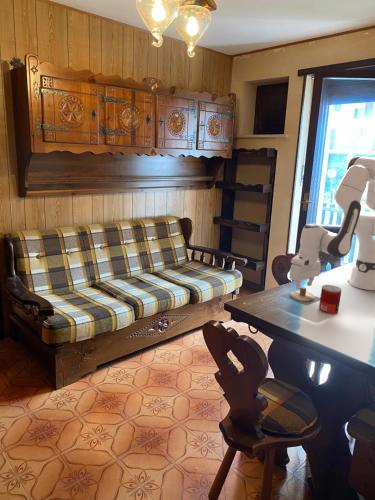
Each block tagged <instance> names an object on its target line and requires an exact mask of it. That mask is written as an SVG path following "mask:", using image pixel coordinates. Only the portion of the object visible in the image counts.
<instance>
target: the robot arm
mask: <svg viewBox="0 0 375 500" xmlns="http://www.w3.org/2000/svg"><path fill="white" fill-rule="evenodd" d="M365 190H366V194H365V204H366V206H367V207H368V209H370V210H372V211H373V212H369V211H368V212H367V211H361V210H362V205H361V200H362V197H363V195H364V193H365ZM334 199H335V202H336V205H338V206H339V207H340V208H341V210H342V211H343V218H342V222H341V226H340V227H339V231H338V233H334V232H331V231H329V230H328V229H325V228H324V227H323V226H321V224H319V223H308V224H305V225H304V226H303V228H302V230H301V234H300V239H299V243H300V244H299V249H298V253H297V254H296V255H295V256H294V257H292V258H291V261H290V262H291V263H292V264H291V266H290V271H289V279H290V281H293V282H294V283H295V289H296V290H300V288H302V285H301V281H304V280H307V279H308V281H307V282H306V286H308V287H311V286H312V285H313V282H314V280H315V277H318V276H320V274H321V264H322V263H321V259H320V257H319V254H320V253H319V252H323V253H326V254H328V255H330V256H331V257H332V258H334V259H335V258H336V259H342V258H344V257H346V256H347V255H348V254H349V253H350V251H351V249H352V244H353V243H352V242H353V237H354V234H355V235H356V238H357V239H358V244H359V245H358V255H357V258H356V260H355V266H353V267H352V271H351V274H350V277H349V278H348V279H347V282H349V284H350V285H351V286H353V287H355V288H358V289H361V290H366V291H367V290H368V291H375V239H374V237H373V236H375V157H370V156H362V155H361V156H359V155H358V156H354V157H352V158H350V159H349V161H348V163H347V166H346V172H345V173H344V175H343V177H342V179H340V182H339V185H338V186H337V189H336V191H335V195H334Z"/></svg>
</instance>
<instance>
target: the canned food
mask: <svg viewBox="0 0 375 500" xmlns="http://www.w3.org/2000/svg"><path fill="white" fill-rule="evenodd" d="M341 295H342V288H341V287H339V286H338V285H337V286H336V285H331V284H324V285H322V286H321V290H320V296H319V298H320V301H319V306H318V310H319V311H320V312H321V313H324V314H328V315H336V314H338V312H339V308H340V303H341Z"/></svg>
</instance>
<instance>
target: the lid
mask: <svg viewBox="0 0 375 500" xmlns="http://www.w3.org/2000/svg"><path fill="white" fill-rule="evenodd" d="M289 293H290V297H291V298H293V299H295V300H298V301H304V302H310V301H313V300H314V296H315V295H314V294H312V293H310V292H309V291H308V292H307V288H306V287H301V288H300V289H299V291H297V290H292V291H291V292H289Z"/></svg>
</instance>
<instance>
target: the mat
mask: <svg viewBox="0 0 375 500" xmlns="http://www.w3.org/2000/svg"><path fill="white" fill-rule="evenodd" d="M296 291H300V289H296ZM290 293H291V292H287V293H285V294H282V295H280V296H281V297H283V298H286V299H289V300H292V301H294V302H297V303H299V304H302V305H304V306H309V305H311V304H314V303H317V302H320V296H319V297H318V296H316V295H314V300H313V301H310V302H304V301H298V300H295V299H293V298H291V297H290Z"/></svg>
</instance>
